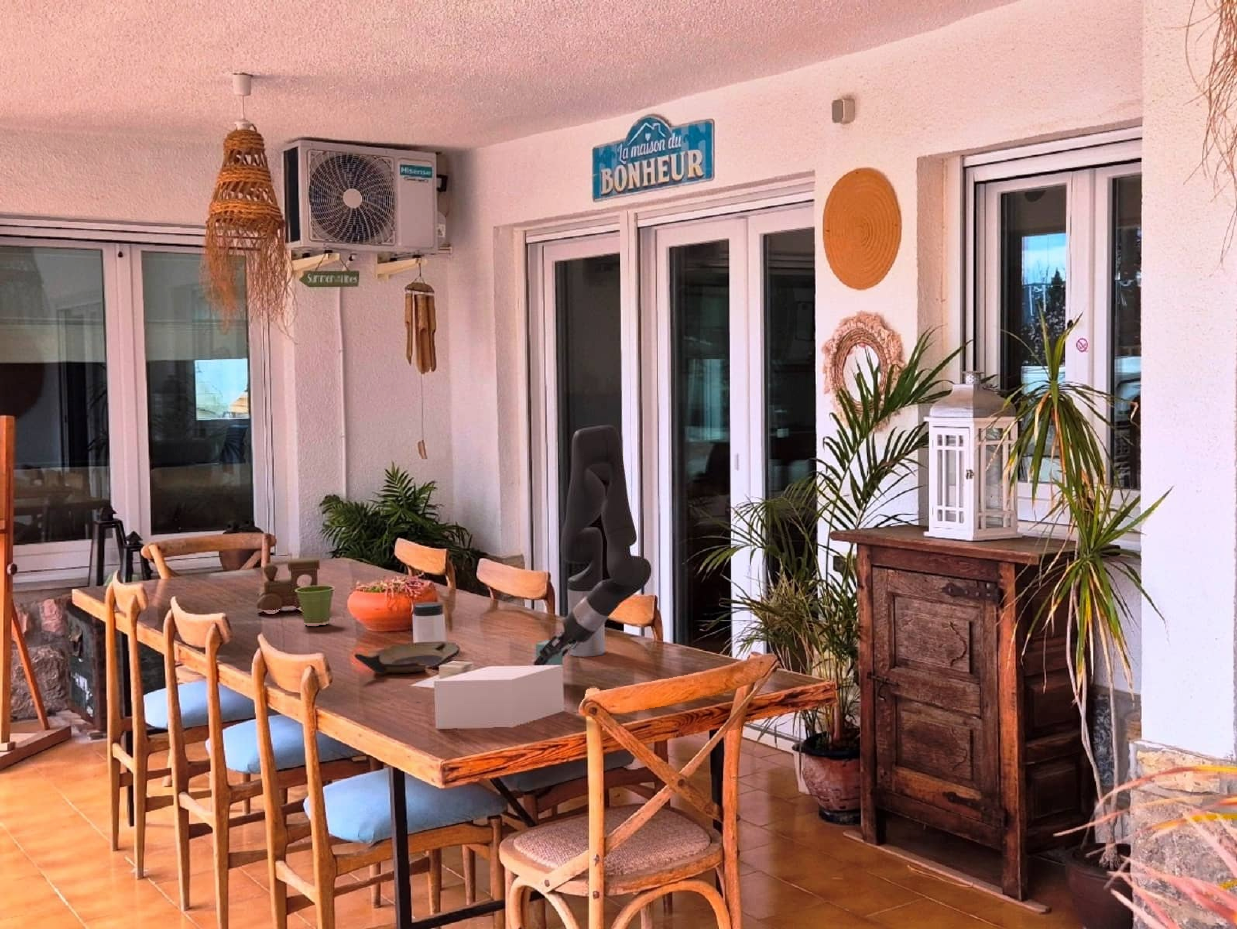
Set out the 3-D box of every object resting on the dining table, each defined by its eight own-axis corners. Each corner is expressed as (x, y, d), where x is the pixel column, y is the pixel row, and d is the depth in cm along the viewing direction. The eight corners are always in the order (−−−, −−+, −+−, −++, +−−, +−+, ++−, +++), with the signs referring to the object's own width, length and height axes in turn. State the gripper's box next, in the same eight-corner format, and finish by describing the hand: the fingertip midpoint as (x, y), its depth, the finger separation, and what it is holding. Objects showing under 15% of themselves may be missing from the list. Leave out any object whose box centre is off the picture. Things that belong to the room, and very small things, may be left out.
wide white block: (576, 718, 281) (575, 671, 280) (446, 737, 268) (444, 688, 268) (551, 704, 294) (550, 658, 293) (425, 721, 282) (424, 674, 281)
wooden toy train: (319, 606, 433) (317, 556, 432) (322, 611, 423) (320, 560, 421) (257, 611, 428) (254, 560, 427) (257, 616, 417) (255, 564, 416)
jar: (410, 650, 356) (408, 607, 356) (417, 644, 364) (415, 601, 364) (442, 650, 356) (440, 606, 355) (449, 644, 364) (447, 601, 363)
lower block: (453, 677, 318) (452, 660, 318) (474, 678, 316) (473, 662, 316) (439, 682, 313) (438, 665, 313) (460, 684, 310) (460, 667, 310)
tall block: (546, 681, 315) (545, 640, 315) (563, 683, 313) (561, 641, 313) (537, 685, 311) (535, 644, 311) (553, 687, 309) (552, 645, 309)
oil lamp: (477, 671, 329) (476, 641, 328) (362, 688, 314) (361, 657, 313) (442, 656, 348) (441, 628, 348) (332, 672, 333) (331, 642, 333)
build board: (448, 675, 325) (447, 671, 325) (503, 680, 318) (503, 676, 318) (410, 689, 311) (409, 685, 311) (467, 695, 304) (467, 690, 304)
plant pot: (295, 623, 403) (294, 587, 402) (335, 620, 406) (333, 584, 405) (297, 630, 392) (295, 592, 391) (337, 627, 395) (336, 590, 394)
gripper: (590, 601, 314) (549, 645, 320) (561, 611, 301) (520, 657, 307) (610, 624, 312) (569, 668, 318) (582, 635, 299) (540, 681, 305)
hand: (545, 663), depth 312 cm, fingers open, 8 cm apart
